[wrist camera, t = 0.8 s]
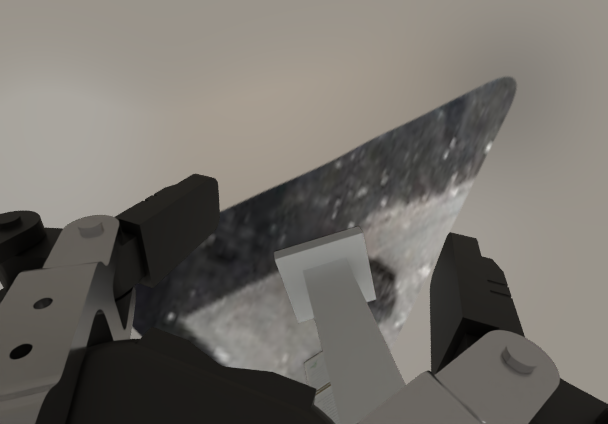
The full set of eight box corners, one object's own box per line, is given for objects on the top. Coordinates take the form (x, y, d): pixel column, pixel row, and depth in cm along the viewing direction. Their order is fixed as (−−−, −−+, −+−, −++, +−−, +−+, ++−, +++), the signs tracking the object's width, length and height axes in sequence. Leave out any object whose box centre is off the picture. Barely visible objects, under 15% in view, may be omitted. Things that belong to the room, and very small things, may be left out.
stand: (266, 323, 40) (307, 963, 12) (239, 262, 36) (203, 1070, 7) (386, 286, 41) (703, 822, 12) (375, 220, 36) (843, 839, 8)
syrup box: (302, 362, 45) (323, 488, 32) (336, 340, 44) (373, 460, 31) (324, 381, 47) (353, 504, 34) (357, 360, 46) (399, 479, 33)
